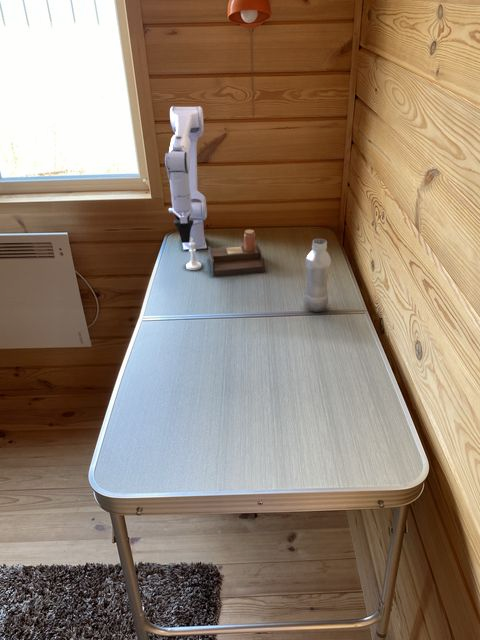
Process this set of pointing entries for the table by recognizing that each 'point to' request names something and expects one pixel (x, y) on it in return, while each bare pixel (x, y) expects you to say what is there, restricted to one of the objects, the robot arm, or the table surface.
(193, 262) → the chess piece
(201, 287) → the table surface
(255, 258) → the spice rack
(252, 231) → the spice pot
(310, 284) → the plastic bottle
